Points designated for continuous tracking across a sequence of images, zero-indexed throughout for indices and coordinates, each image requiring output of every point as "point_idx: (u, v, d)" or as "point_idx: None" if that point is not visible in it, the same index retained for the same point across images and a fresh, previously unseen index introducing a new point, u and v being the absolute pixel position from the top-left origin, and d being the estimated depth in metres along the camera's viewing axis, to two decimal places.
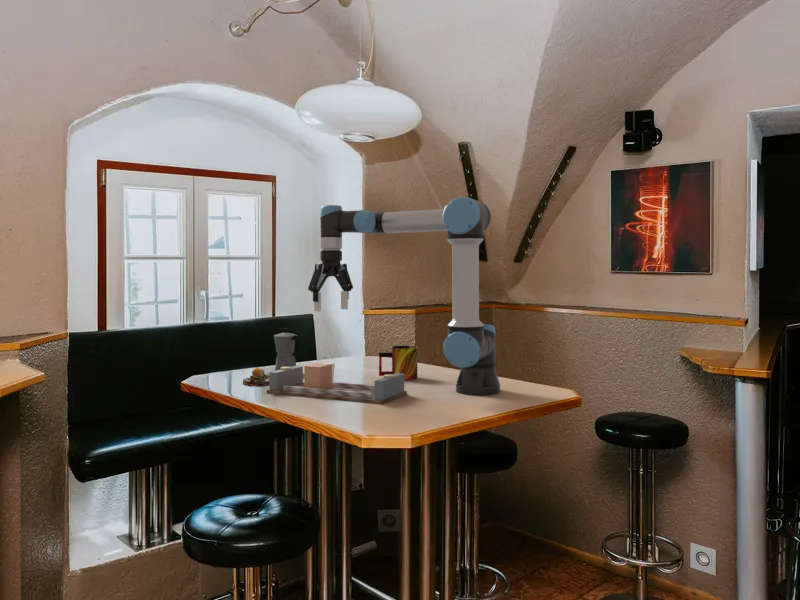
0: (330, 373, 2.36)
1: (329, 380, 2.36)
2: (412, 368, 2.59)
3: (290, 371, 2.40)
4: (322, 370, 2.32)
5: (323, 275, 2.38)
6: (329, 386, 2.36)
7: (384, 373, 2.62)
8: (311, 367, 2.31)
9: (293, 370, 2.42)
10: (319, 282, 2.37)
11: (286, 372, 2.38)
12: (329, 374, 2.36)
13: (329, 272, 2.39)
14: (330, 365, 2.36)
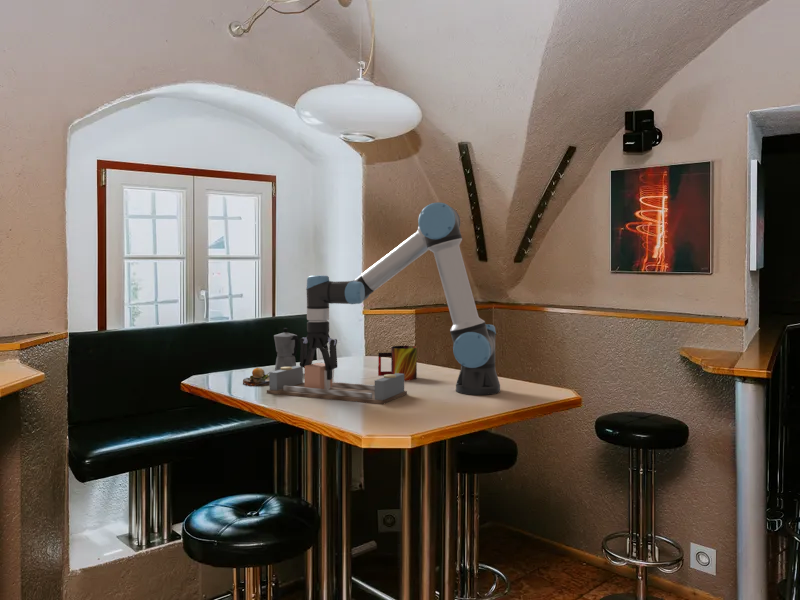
0: None
1: None
2: (412, 368, 2.59)
3: (290, 371, 2.40)
4: (322, 370, 2.32)
5: None
6: None
7: (383, 373, 2.62)
8: (311, 367, 2.31)
9: (293, 370, 2.42)
10: None
11: (286, 372, 2.38)
12: None
13: (310, 345, 2.34)
14: None
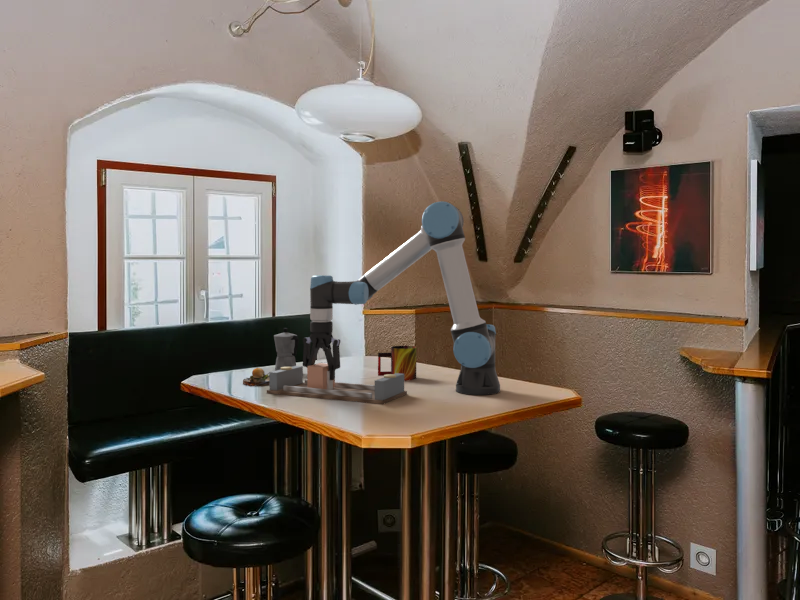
0: None
1: None
2: (411, 369, 2.59)
3: (290, 371, 2.40)
4: (325, 371, 2.31)
5: None
6: None
7: (383, 373, 2.62)
8: (314, 367, 2.31)
9: (293, 370, 2.42)
10: None
11: (286, 372, 2.38)
12: None
13: (313, 345, 2.33)
14: None
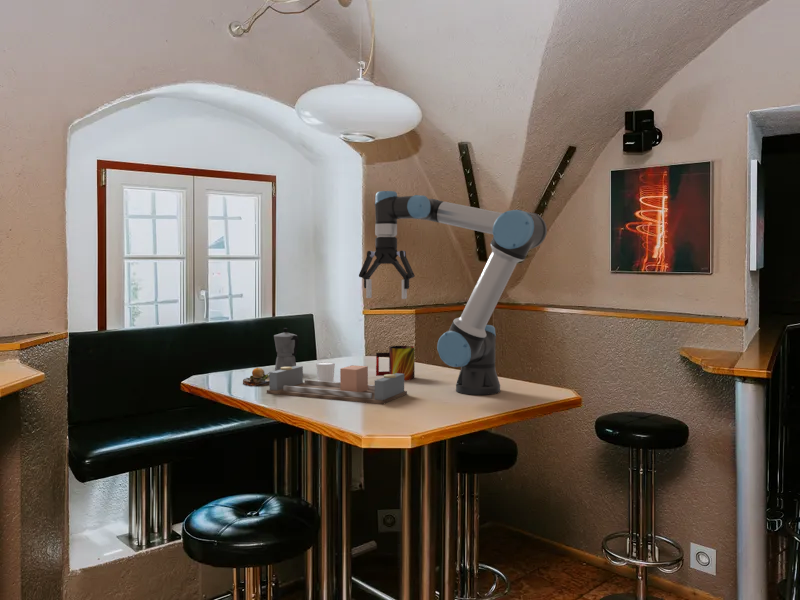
0: (366, 376, 2.30)
1: (365, 383, 2.30)
2: (409, 368, 2.59)
3: (290, 371, 2.40)
4: (359, 373, 2.26)
5: None
6: (365, 389, 2.30)
7: (381, 373, 2.62)
8: (347, 370, 2.25)
9: (293, 370, 2.42)
10: None
11: (286, 372, 2.38)
12: (365, 377, 2.30)
13: (377, 259, 2.37)
14: (366, 368, 2.30)
